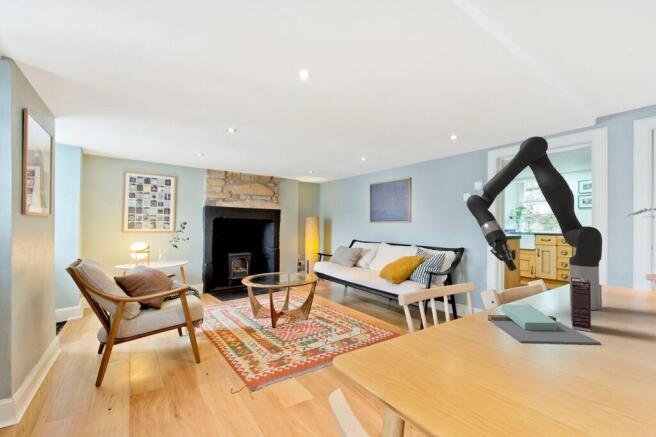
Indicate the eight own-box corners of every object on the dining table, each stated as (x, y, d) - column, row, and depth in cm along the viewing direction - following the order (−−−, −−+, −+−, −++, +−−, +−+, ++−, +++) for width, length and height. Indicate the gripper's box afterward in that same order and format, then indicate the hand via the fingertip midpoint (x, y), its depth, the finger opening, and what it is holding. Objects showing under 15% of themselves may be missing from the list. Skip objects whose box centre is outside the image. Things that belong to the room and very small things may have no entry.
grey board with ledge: (488, 319, 105) (488, 314, 105) (552, 321, 104) (552, 315, 104) (520, 342, 85) (520, 336, 85) (600, 344, 84) (600, 338, 84)
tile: (501, 304, 107) (525, 322, 93) (529, 304, 107) (557, 322, 93) (501, 310, 108) (524, 329, 94) (528, 311, 107) (556, 330, 93)
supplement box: (591, 332, 93) (591, 282, 93) (572, 329, 96) (571, 280, 96) (588, 324, 100) (588, 278, 100) (570, 321, 103) (569, 276, 103)
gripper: (489, 227, 121) (510, 264, 111) (511, 230, 126) (532, 266, 116) (476, 236, 126) (494, 273, 116) (497, 239, 131) (516, 275, 121)
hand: (513, 270), depth 116 cm, fingers closed
